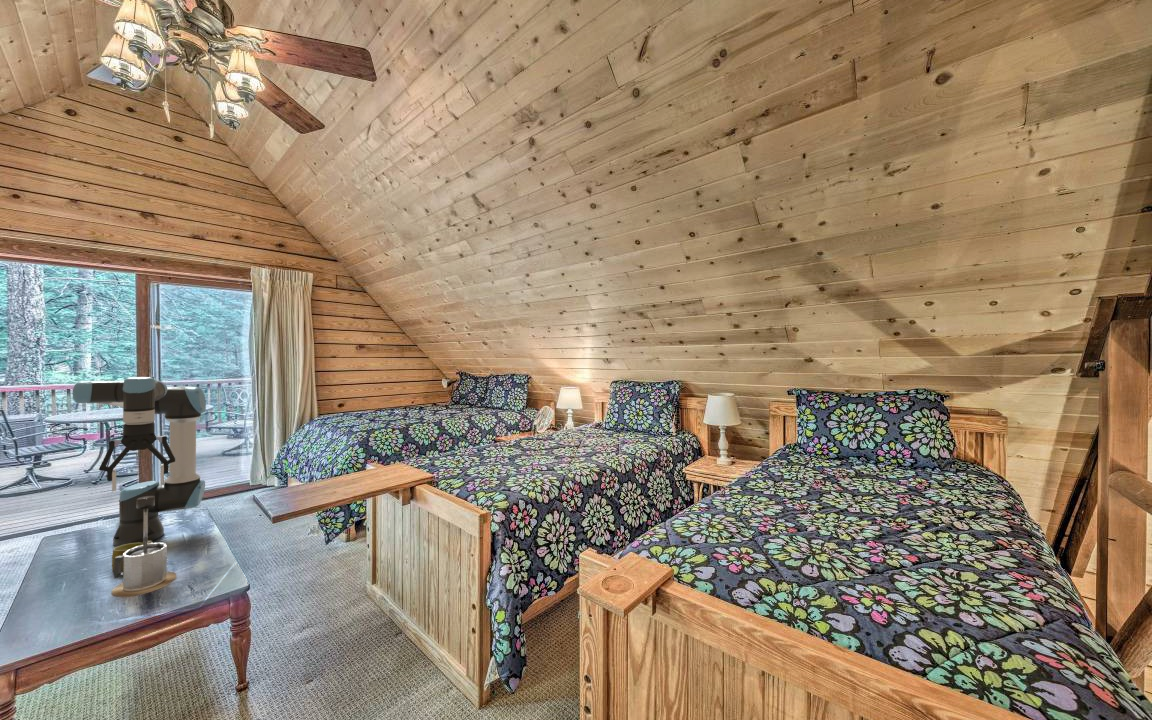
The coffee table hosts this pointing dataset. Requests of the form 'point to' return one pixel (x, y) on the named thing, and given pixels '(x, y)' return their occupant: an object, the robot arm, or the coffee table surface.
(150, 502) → the plunger
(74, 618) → the coffee table surface
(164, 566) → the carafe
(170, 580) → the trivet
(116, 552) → the mug
